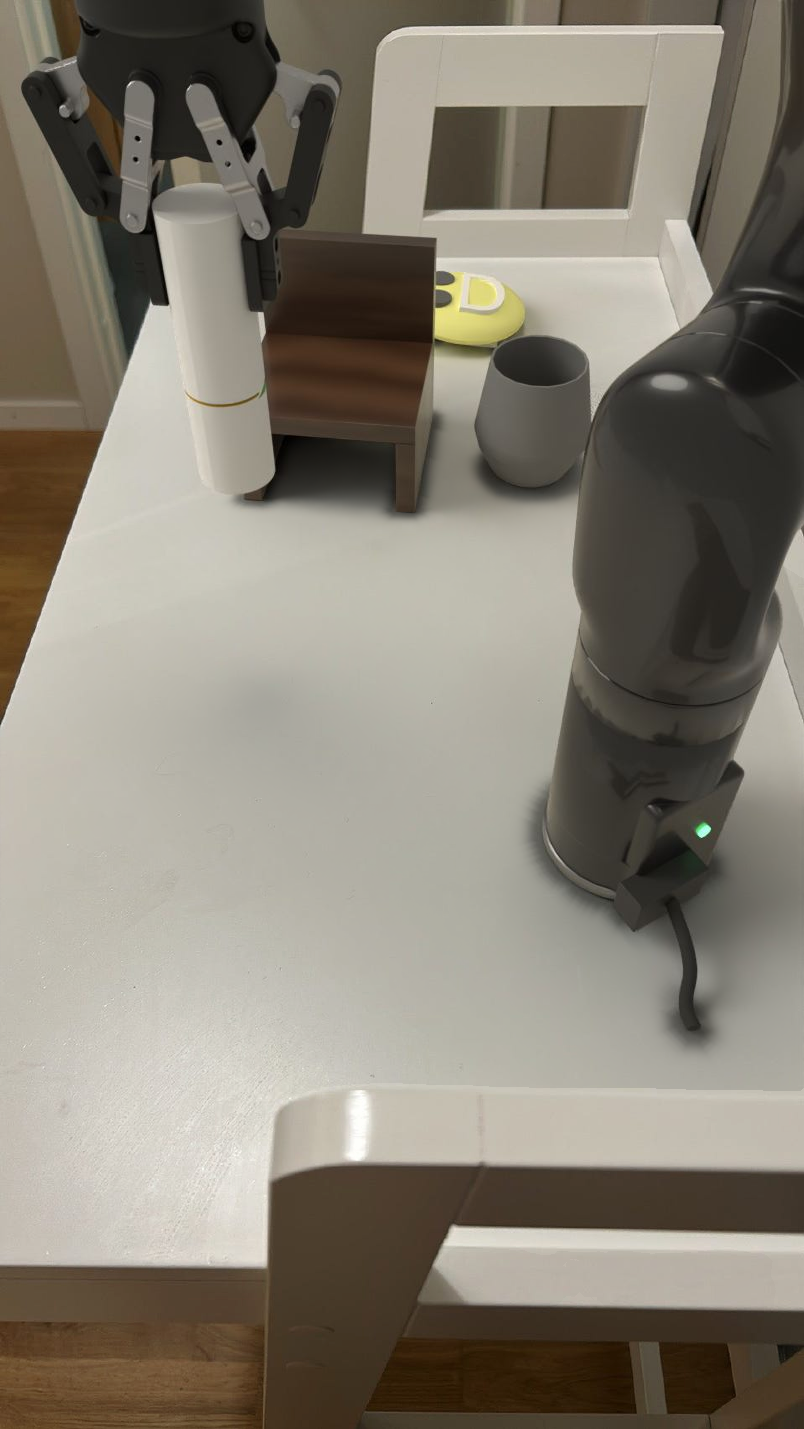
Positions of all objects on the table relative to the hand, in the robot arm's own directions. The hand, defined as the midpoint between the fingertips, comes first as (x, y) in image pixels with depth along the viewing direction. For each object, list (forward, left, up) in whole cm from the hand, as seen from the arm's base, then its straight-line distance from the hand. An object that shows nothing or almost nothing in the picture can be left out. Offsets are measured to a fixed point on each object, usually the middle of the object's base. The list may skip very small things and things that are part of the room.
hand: (213, 299), depth 52 cm
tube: (0, 0, -10) cm, 10 cm away
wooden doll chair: (+19, -16, -27) cm, 37 cm away
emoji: (+32, -37, -28) cm, 56 cm away
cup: (+10, -29, -28) cm, 41 cm away
